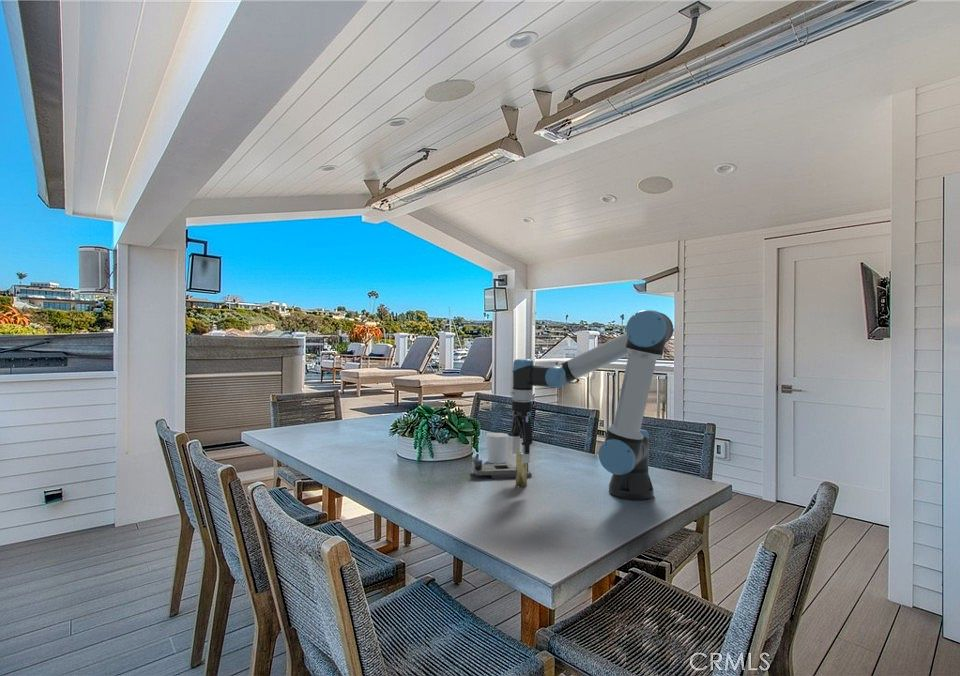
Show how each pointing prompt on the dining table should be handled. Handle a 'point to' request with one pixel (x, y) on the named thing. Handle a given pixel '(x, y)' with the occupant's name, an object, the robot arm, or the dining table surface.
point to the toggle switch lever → (521, 471)
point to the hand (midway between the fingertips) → (520, 457)
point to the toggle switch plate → (496, 470)
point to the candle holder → (497, 447)
